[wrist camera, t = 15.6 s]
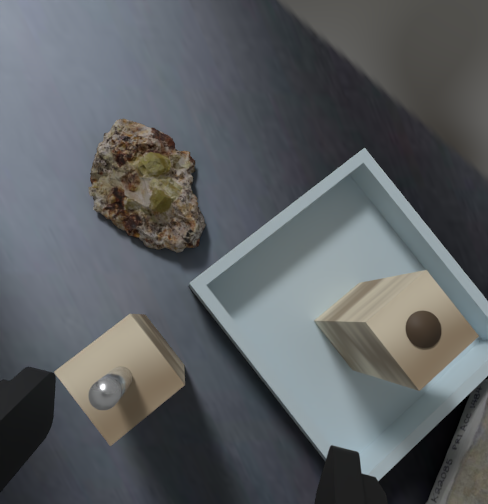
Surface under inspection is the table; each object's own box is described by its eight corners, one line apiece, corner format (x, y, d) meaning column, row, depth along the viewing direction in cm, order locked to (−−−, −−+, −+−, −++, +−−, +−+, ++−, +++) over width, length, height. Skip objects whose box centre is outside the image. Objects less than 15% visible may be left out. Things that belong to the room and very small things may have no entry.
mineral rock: (50, 159, 32) (141, 88, 32) (77, 167, 37) (158, 105, 36) (139, 285, 32) (233, 218, 32) (156, 278, 37) (239, 219, 36)
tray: (188, 286, 34) (189, 283, 31) (347, 163, 37) (364, 147, 34) (340, 481, 34) (358, 500, 30) (490, 340, 37) (521, 343, 33)
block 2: (313, 320, 35) (366, 322, 25) (359, 282, 36) (427, 269, 26) (352, 370, 35) (420, 391, 25) (396, 330, 35) (480, 336, 25)
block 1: (92, 355, 33) (19, 386, 18) (145, 314, 34) (116, 312, 19) (132, 407, 33) (90, 481, 18) (184, 365, 34) (185, 402, 19)
